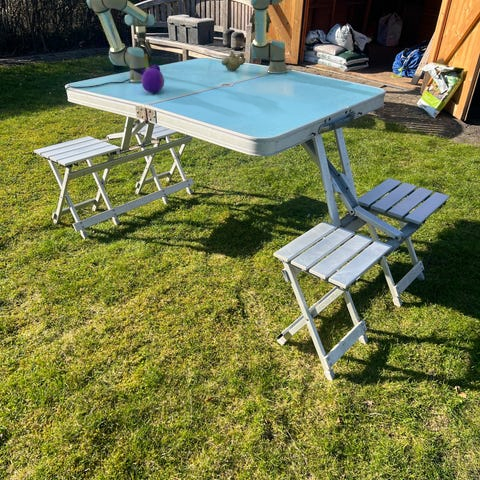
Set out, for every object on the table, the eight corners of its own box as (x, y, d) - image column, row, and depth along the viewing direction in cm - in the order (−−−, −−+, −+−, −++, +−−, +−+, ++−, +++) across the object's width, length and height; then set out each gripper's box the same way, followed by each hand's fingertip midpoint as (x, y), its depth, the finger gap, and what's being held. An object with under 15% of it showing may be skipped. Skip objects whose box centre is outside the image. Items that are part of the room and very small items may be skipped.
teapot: (225, 73, 360) (224, 53, 352) (218, 71, 369) (217, 51, 361) (248, 70, 369) (247, 50, 362) (240, 68, 378) (240, 49, 370)
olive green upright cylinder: (151, 72, 369) (149, 54, 362) (145, 74, 365) (143, 55, 357) (146, 72, 372) (143, 53, 365) (140, 73, 368) (138, 54, 361)
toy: (156, 85, 322) (164, 98, 301) (131, 81, 314) (137, 93, 294) (160, 63, 314) (168, 74, 293) (135, 58, 306) (141, 69, 286)
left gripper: (155, 32, 349) (158, 61, 360) (134, 31, 362) (137, 59, 373) (148, 33, 344) (151, 63, 355) (126, 31, 357) (130, 60, 368)
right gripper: (275, 3, 359) (275, 32, 370) (250, 3, 372) (250, 31, 383) (270, 4, 354) (270, 33, 365) (245, 3, 367) (245, 32, 378)
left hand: (144, 61), depth 364 cm, fingers open, 12 cm apart
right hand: (260, 32), depth 374 cm, fingers open, 13 cm apart
